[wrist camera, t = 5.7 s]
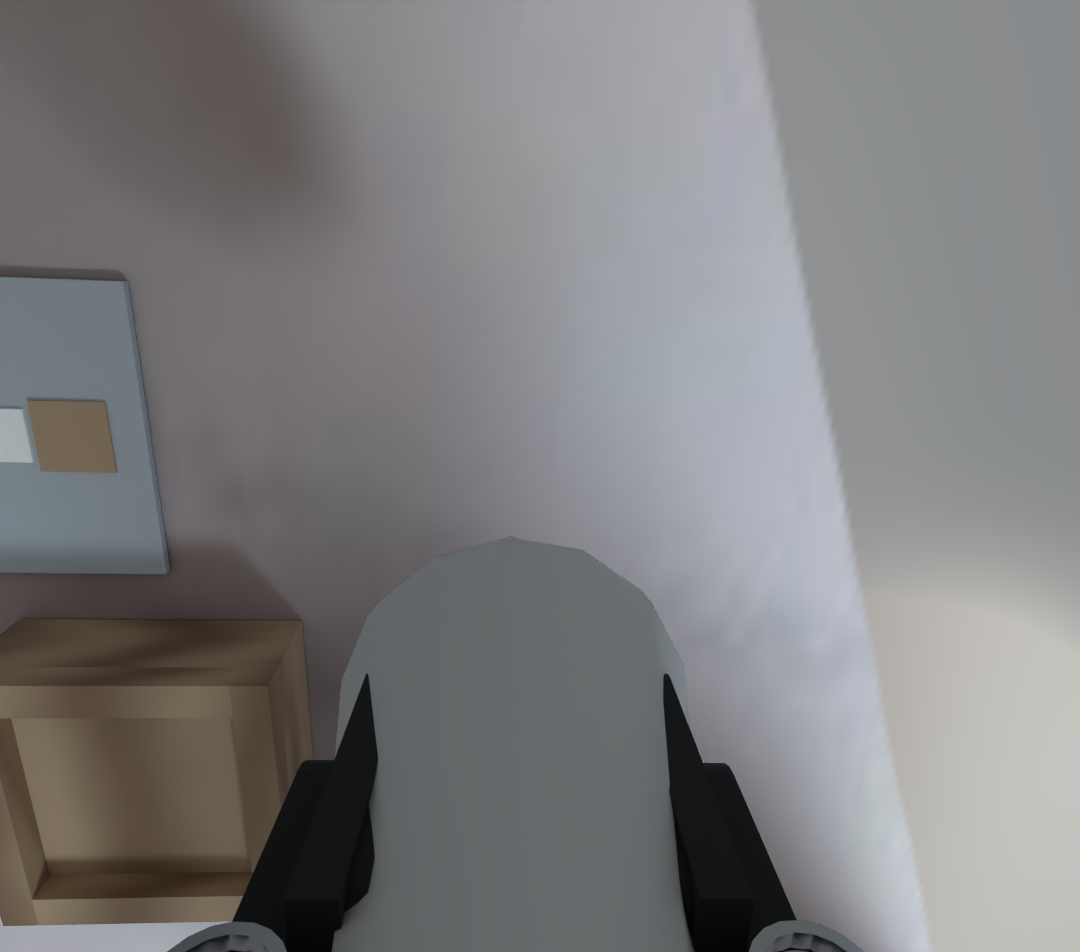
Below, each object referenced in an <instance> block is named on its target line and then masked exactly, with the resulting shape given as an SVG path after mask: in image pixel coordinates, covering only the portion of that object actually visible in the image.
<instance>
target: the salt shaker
mask: <svg viewBox="0 0 1080 952" xmlns="http://www.w3.org/2000/svg"><path fill="white" fill-rule="evenodd" d="M366 673H368V676H369V684H370V692H371V701H372V709H373V718H374V727H375V735H376V744H377V752H378V763H377V768H376V773H375V778H374V783H373V787H372V792H371V796H370V800H369V810H370V817H371V825H372V832H373V843H374V854H375V859H374V864H373V869H372V874H371V879H370V885H369V890H368V893H367V894H366V895H365V896H364V897H363V898H362V899H361V900H360V901H359V902H358V903H357V904H356V905H354V906H353V907H352V908H350V909H349V910H347V911H346V912H345V913H344V918H343V922H342V927H341V929H340V930H337V931H335V933H334V940H333V946H332V952H695V951H694V947H693V941H692V935H691V933H690V932H689V928H688V924H687V920H686V916H685V911H684V906H683V900H682V894H681V888H680V881H679V871H678V859H677V847H676V835H675V823H674V815H673V808H672V801H671V797H670V792H669V786H670V780H669V768H668V755H667V743H666V730H665V718H664V705H663V677H664V674H669V676H670V678H671V681H672V683H673V686H674V688H675V691H676V694H677V696H678V699H679V702H680V704H681V707H682V710H683V712H684V715H685V717H686V720H687V723H688V712H687V700H686V688H685V677H684V665H683V663H682V661H681V659H680V657H679V655H678V653H677V651H676V649H675V647H674V645H673V643H672V642H671V640H670V638H669V636H668V634H667V632H666V630H665V628H664V626H663V624H662V622H661V620H660V618H659V616H658V614H657V612H656V610H655V608H654V606H653V604H652V603H651V602H650V600H649V599H648V598H647V596H646V595H645V594H644V593H643V591H641V590H640V589H639V588H637V587H636V586H634V585H633V584H631V583H630V582H628V581H627V580H625V579H624V578H623V577H621V576H620V575H618V574H617V573H615V572H614V571H612V570H611V569H610V568H608V567H607V566H605V565H604V564H602V563H601V562H599V561H598V560H596V559H595V558H594V557H592V556H591V555H589V554H588V553H586V552H585V551H583V550H579V549H573V548H567V547H561V546H555V545H550V544H544V543H538V542H532V541H526V540H520V539H517V538H514V537H512V536H509V537H507V538H504V539H500V540H496V541H492V542H488V543H484V544H481V545H477V546H473V547H469V548H465V549H461V550H457V551H453V552H449V553H445V554H442V555H438V556H434V557H433V558H432V559H430V560H429V561H428V562H427V563H426V564H424V565H423V566H422V567H421V568H419V569H418V570H417V571H416V572H415V573H413V574H412V575H411V576H410V577H409V578H407V579H406V580H405V581H404V582H402V583H401V584H400V585H399V586H398V587H396V588H395V589H394V590H393V591H391V592H390V593H389V594H388V595H387V596H385V597H384V598H383V599H382V600H380V601H379V602H378V603H377V605H376V606H375V607H374V608H373V610H372V611H371V612H370V613H369V615H368V616H367V618H366V621H365V623H364V626H363V628H362V631H361V633H360V636H359V638H358V641H357V643H356V646H355V648H354V651H353V653H352V656H351V658H350V660H349V663H348V665H347V668H346V670H345V673H344V675H343V678H342V680H341V690H340V702H339V713H338V725H337V736H336V748H335V757H336V754H337V751H338V749H339V746H340V743H341V740H342V738H343V735H344V732H345V730H346V727H347V724H348V721H349V719H350V716H351V713H352V711H353V708H354V705H355V702H356V700H357V697H358V694H359V691H360V689H361V686H362V683H363V681H364V678H365V675H366ZM688 725H689V723H688Z"/></svg>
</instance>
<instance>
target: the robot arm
mask: <svg viewBox="0 0 1080 952" xmlns="http://www.w3.org/2000/svg"><path fill="white" fill-rule="evenodd" d="M663 705H664V718H665V730H666V743H667V755H668V768H669V780H670V786H669V792H670V797H671V801H672V808H673V815H674V823H675V835H676V847H677V859H678V871H679V881H680V888H681V894H682V900H683V906H684V911H685V916H686V920H687V924H688V928H689V932H690V933H691V935H692V941H693V947H694V951H695V952H864V951H863V950H862V949H860V948H859V947H858V946H856V945H855V944H854V943H852V942H851V941H849V940H848V939H847V938H845V937H844V936H843V935H841V934H839V933H837V932H835V931H833V930H830V929H828V928H826V927H824V926H822V925H819V924H814V923H810V922H805V921H801V920H796V918H795V915H794V913H793V911H792V908H791V906H790V904H789V901H788V899H787V897H786V895H785V892H784V890H783V888H782V885H781V883H780V881H779V878H778V876H777V874H776V871H775V869H774V867H773V864H772V862H771V860H770V858H769V855H768V853H767V851H766V848H765V846H764V844H763V841H762V839H761V837H760V834H759V832H758V830H757V827H756V825H755V823H754V821H753V818H752V816H751V814H750V811H749V809H748V807H747V804H746V802H745V800H744V797H743V795H742V793H741V790H740V788H739V786H738V784H737V781H736V779H735V777H734V774H733V773H732V771H731V769H730V767H729V766H728V765H726V764H725V763H703V762H702V760H701V757H700V754H699V752H698V749H697V746H696V744H695V741H694V738H693V736H692V733H691V731H690V728H689V725H688V723H687V720H686V717H685V715H684V712H683V710H682V707H681V704H680V702H679V699H678V696H677V694H676V691H675V688H674V686H673V683H672V681H671V678H670V676H669V674H664V677H663ZM377 763H378V752H377V744H376V735H375V727H374V718H373V709H372V701H371V692H370V684H369V676H368V673H366V675H365V678H364V681H363V683H362V686H361V689H360V691H359V694H358V697H357V700H356V702H355V705H354V708H353V711H352V713H351V716H350V719H349V721H348V724H347V727H346V730H345V732H344V735H343V738H342V740H341V743H340V746H339V749H338V751H337V754H336V757H335V759H334V760H305V761H304V762H303V763H301V765H300V767H299V769H298V771H297V773H296V775H295V777H294V780H293V782H292V784H291V787H290V789H289V791H288V794H287V796H286V798H285V800H284V803H283V805H282V807H281V810H280V812H279V814H278V817H277V819H276V821H275V824H274V826H273V828H272V830H271V833H270V835H269V837H268V840H267V842H266V844H265V847H264V849H263V851H262V854H261V856H260V858H259V860H258V863H257V865H256V867H255V870H254V872H253V874H252V877H251V879H250V881H249V884H248V886H247V888H246V890H245V893H244V895H243V897H242V900H241V902H240V904H239V907H238V909H237V911H236V914H235V916H234V918H233V920H232V922H229V923H224V924H220V925H215V926H210V927H208V928H206V929H204V930H202V931H200V932H197V933H195V934H193V935H191V936H189V937H187V938H185V939H184V940H183V941H181V942H180V943H178V944H177V945H176V946H174V947H173V948H172V949H170V950H169V951H167V952H332V946H333V940H334V933H335V931H337V930H340V929H341V927H342V922H343V918H344V913H345V912H346V911H347V910H349V909H350V908H352V907H353V906H354V905H356V904H357V903H358V902H359V901H360V900H361V899H362V898H363V897H364V896H365V895H366V894H367V893H368V890H369V885H370V879H371V874H372V869H373V864H374V859H375V854H374V843H373V832H372V825H371V817H370V810H369V800H370V796H371V792H372V787H373V783H374V778H375V773H376V768H377Z"/></svg>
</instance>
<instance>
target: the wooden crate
mask: <svg viewBox="0 0 1080 952" xmlns="http://www.w3.org/2000/svg"><path fill="white" fill-rule="evenodd" d="M305 760H313V748H312V735H311V723H310V711H309V698H308V686H307V673H306V661H305V648H304V636H303V623H302V621H296V620H144V619H20V620H19V621H17V622H16V623H15V624H13V625H12V626H11V627H10V628H8V629H7V630H6V631H5V632H3V633H2V634H1V635H0V916H1V920H2V923H3V926H26V925H74V924H122V923H170V922H218V921H232V920H233V918H234V916H235V914H236V911H237V909H238V907H239V904H240V902H241V900H242V897H243V895H244V893H245V890H246V888H247V886H248V884H249V881H250V879H251V877H252V874H253V872H254V870H255V867H256V865H257V863H258V860H259V858H260V856H261V854H262V851H263V849H264V847H265V844H266V842H267V840H268V837H269V835H270V833H271V830H272V828H273V826H274V824H275V821H276V819H277V817H278V814H279V812H280V810H281V807H282V805H283V803H284V800H285V798H286V796H287V794H288V791H289V789H290V787H291V784H292V782H293V780H294V777H295V775H296V773H297V771H298V769H299V767H300V765H301V763H303V762H304V761H305Z"/></svg>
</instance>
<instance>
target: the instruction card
mask: <svg viewBox="0 0 1080 952" xmlns="http://www.w3.org/2000/svg"><path fill="white" fill-rule="evenodd" d="M169 571H170V566H169V559H168V552H167V545H166V538H165V531H164V524H163V518H162V511H161V504H160V497H159V490H158V483H157V477H156V470H155V463H154V456H153V449H152V442H151V436H150V429H149V422H148V415H147V408H146V401H145V395H144V388H143V381H142V374H141V367H140V360H139V353H138V347H137V340H136V333H135V326H134V319H133V312H132V306H131V299H130V292H129V285H128V281H112V280H85V279H58V278H31V277H4V276H0V573H81V574H167V573H168V572H169Z"/></svg>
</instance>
